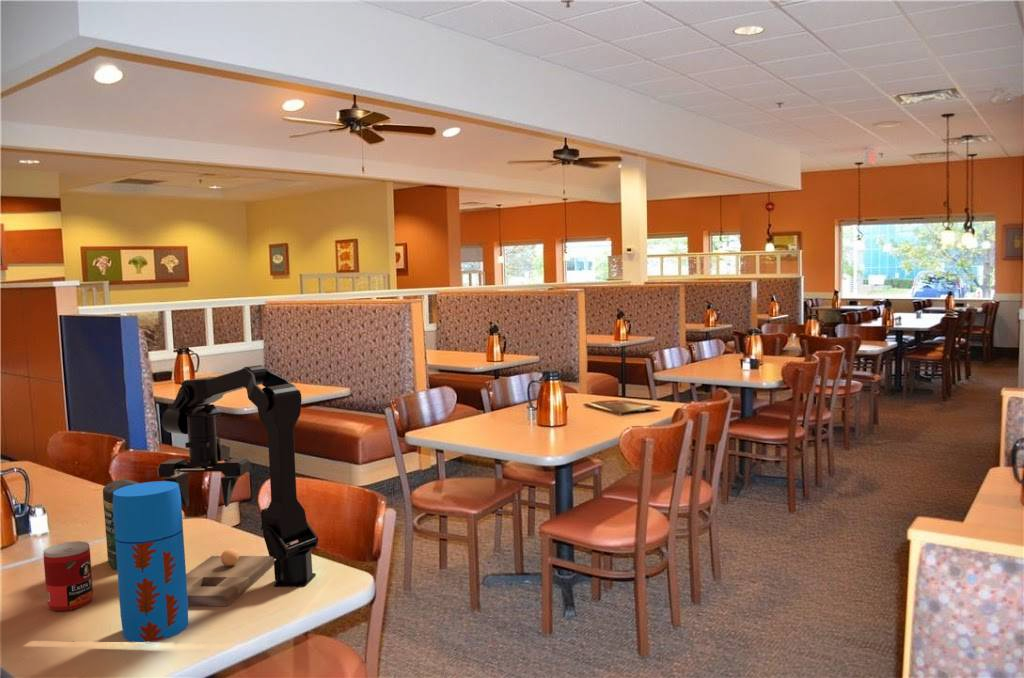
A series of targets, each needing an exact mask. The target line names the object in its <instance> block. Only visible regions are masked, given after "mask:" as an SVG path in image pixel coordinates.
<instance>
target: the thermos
mask: <svg viewBox="0 0 1024 678" xmlns="http://www.w3.org/2000/svg"><path fill="white" fill-rule="evenodd" d="M138 483H139V484H133V485H129V486H125V487H122V488H119V489H117V490H115V491H114V492H113V518H114V531H115V545H116V559H117V570H116V573H117V582H118V583H117V587H118V599H119V610H120V621H121V629H122V635H123V638H124V639H125V640H126V641H128V642H132V643H151V642H156V641H160V640H164V639H165V640H166V639H169V638H171V637H173V636H175V635H178V634H180V633H182V632H183V631H184V630H186V629H187V627H188V626H189V606H188V596H187V581H186V574H187V570H186V569H187V568H186V555H185V539H184V526H183V509H182V508H183V507H182V501H181V494H180V489H179V484H178V483H176V482H170V481H164V480H161V481H160V480H159V481H147V482H141V483H140V482H138Z"/></svg>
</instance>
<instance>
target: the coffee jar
mask: <svg viewBox="0 0 1024 678" xmlns="http://www.w3.org/2000/svg"><path fill="white" fill-rule="evenodd" d="M139 483H140V482H138V481H134V480H132V479H129V478H124V479H118V480H114V481H113V480H112V481H109V482H108V483H107V484H106V485H105V486H103V488H102V504H103V512H104V513H103V514H104V526H105V538H106V551H107V563H108V565H109V567H110V568H112V569H113V570H116V571H117V559H116V545H115V531H114V518H113V492H114V491H115V490H117V489H119V488H122V487H125V486H129V485H133V484H139Z"/></svg>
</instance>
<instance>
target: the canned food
mask: <svg viewBox="0 0 1024 678" xmlns="http://www.w3.org/2000/svg"><path fill="white" fill-rule="evenodd" d="M42 555H43V567H44V568H43V569H44V579H45V580H44V581H45V590H46V601H47V602H46V603H47V605H48V608H49V609H50V610H52V611H59V612H63V611H71V610H76V609H79V608H82V607H84V606H86V605H88V604H90V603H91V602H92V601H93V597H94V589H93V577H92V576H93V575H92V560H91V549H90V544H89V543H88V542H87V541H82V540H81V541H79V540H78V541H77V540H76V541H67V542H61V543H56V544H53V545H51V546H48V547H46V548H44V550H43V554H42Z"/></svg>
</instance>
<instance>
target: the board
mask: <svg viewBox="0 0 1024 678" xmlns="http://www.w3.org/2000/svg"><path fill="white" fill-rule="evenodd" d="M275 560H276V559H273V557H271V556H269V555H239V558H238V561H237V563H236V564H234V565H232V566H226V565H224V564H223V563H222V562H221V555H211V556H210V557H209V558H208V557H207V559H205V560H204V561H203V562H201V563H200V564H199V565H197V566H195V567H194V568H192V569H191V570H190V571H189V572H186V581H187V596H188V607H228V606H231V604H232V603H233V602H234V601H235V600H236V599H238V598H239V597H240V596H241V595H242V594H244V593H245V592H246V591H247V590H248V589H249V588H251V586H252V585H254V584H255V583H256V582H257V581H259V579H261V578H262V577H263V576H264V575H265V574H266V573H267V572H268V571H269V570H270V569H271V568H272V567H274V561H275Z"/></svg>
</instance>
